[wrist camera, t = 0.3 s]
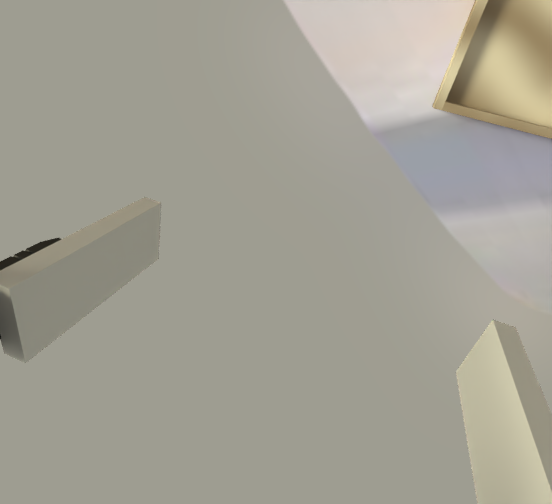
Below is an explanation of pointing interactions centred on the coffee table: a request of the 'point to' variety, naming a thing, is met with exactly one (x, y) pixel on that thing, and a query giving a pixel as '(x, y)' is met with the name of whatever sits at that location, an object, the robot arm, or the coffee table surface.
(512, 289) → the coffee table surface
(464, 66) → the tray
